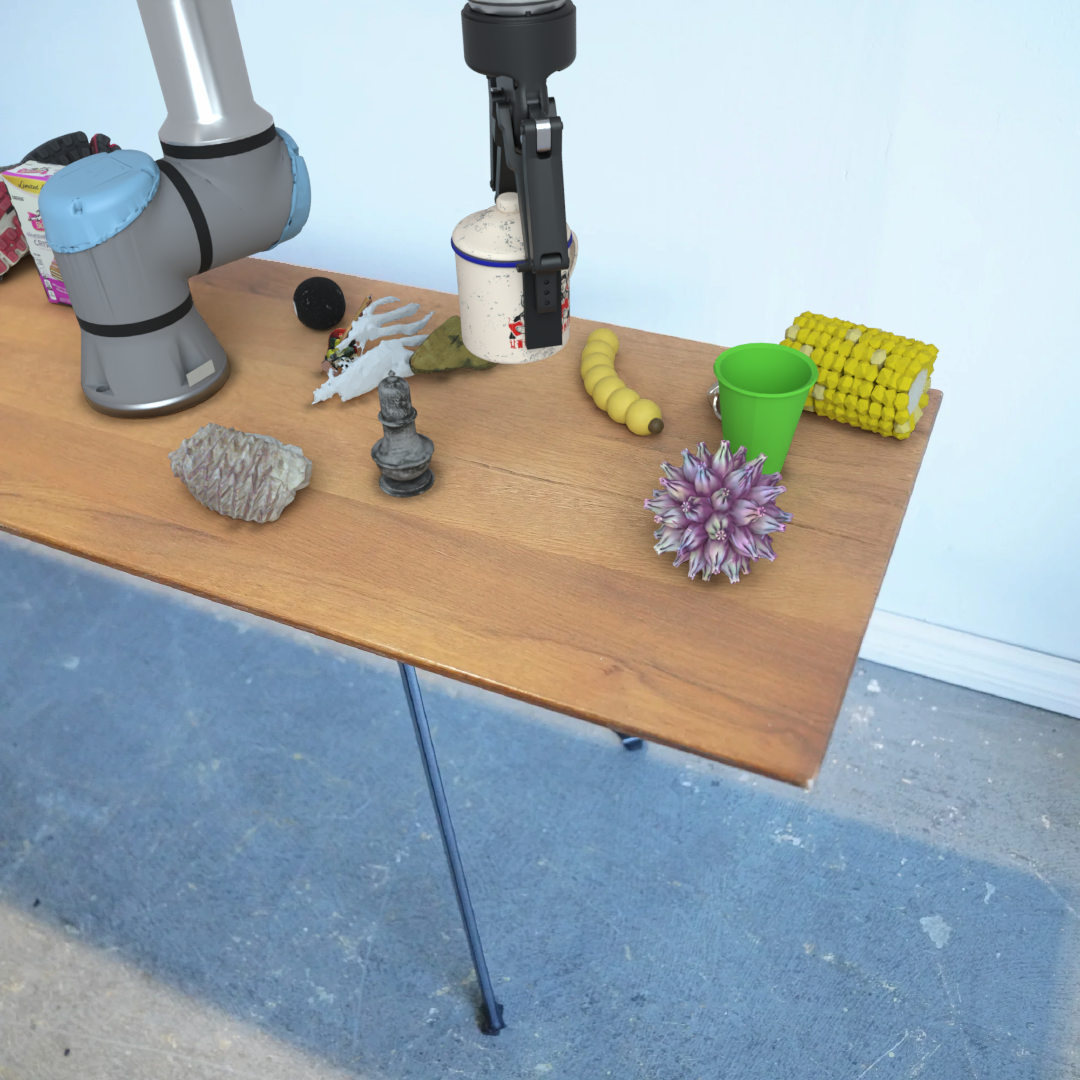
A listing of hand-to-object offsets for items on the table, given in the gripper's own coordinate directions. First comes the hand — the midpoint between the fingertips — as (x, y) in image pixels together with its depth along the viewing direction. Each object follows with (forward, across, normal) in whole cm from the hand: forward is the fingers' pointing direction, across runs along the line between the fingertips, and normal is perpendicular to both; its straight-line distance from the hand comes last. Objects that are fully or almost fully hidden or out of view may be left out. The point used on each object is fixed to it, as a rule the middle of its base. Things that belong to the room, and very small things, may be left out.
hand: (530, 315), depth 80 cm
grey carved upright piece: (+19, +7, +11) cm, 24 cm away
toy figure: (+15, +27, +15) cm, 34 cm away
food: (+15, +3, -29) cm, 33 cm away
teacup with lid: (+2, +1, 0) cm, 2 cm away
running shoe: (+10, +66, +54) cm, 86 cm away
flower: (+19, -12, -13) cm, 26 cm away
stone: (+20, +25, +3) cm, 32 cm away
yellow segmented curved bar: (+19, +17, -12) cm, 28 cm away
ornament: (+19, +10, -24) cm, 32 cm away
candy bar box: (+19, +54, +45) cm, 73 cm away
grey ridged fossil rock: (+19, +9, +26) cm, 33 cm away
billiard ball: (+20, +40, +17) cm, 48 cm away
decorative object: (+19, +27, +9) cm, 34 cm away
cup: (+19, 0, -21) cm, 28 cm away
